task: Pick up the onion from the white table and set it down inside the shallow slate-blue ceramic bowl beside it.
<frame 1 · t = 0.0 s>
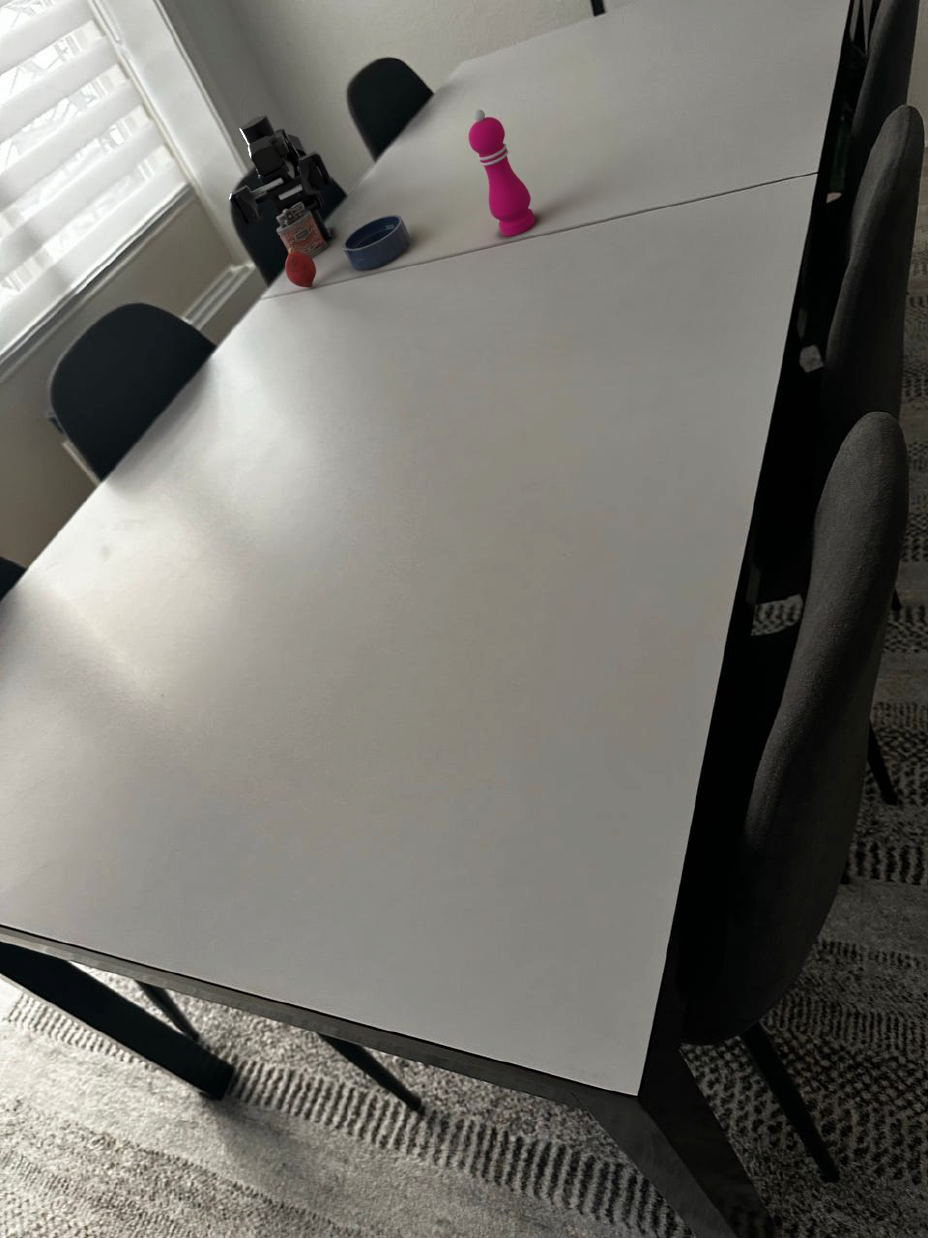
hand: (281, 202, 168), 17 cm above the table, tool horizontal, fingers open, 9 cm apart
bowl: (382, 254, 178), on the table
onion: (310, 287, 181), on the table
lighter: (310, 255, 194), on the table, touching arm
pepper mill: (518, 227, 162), on the table
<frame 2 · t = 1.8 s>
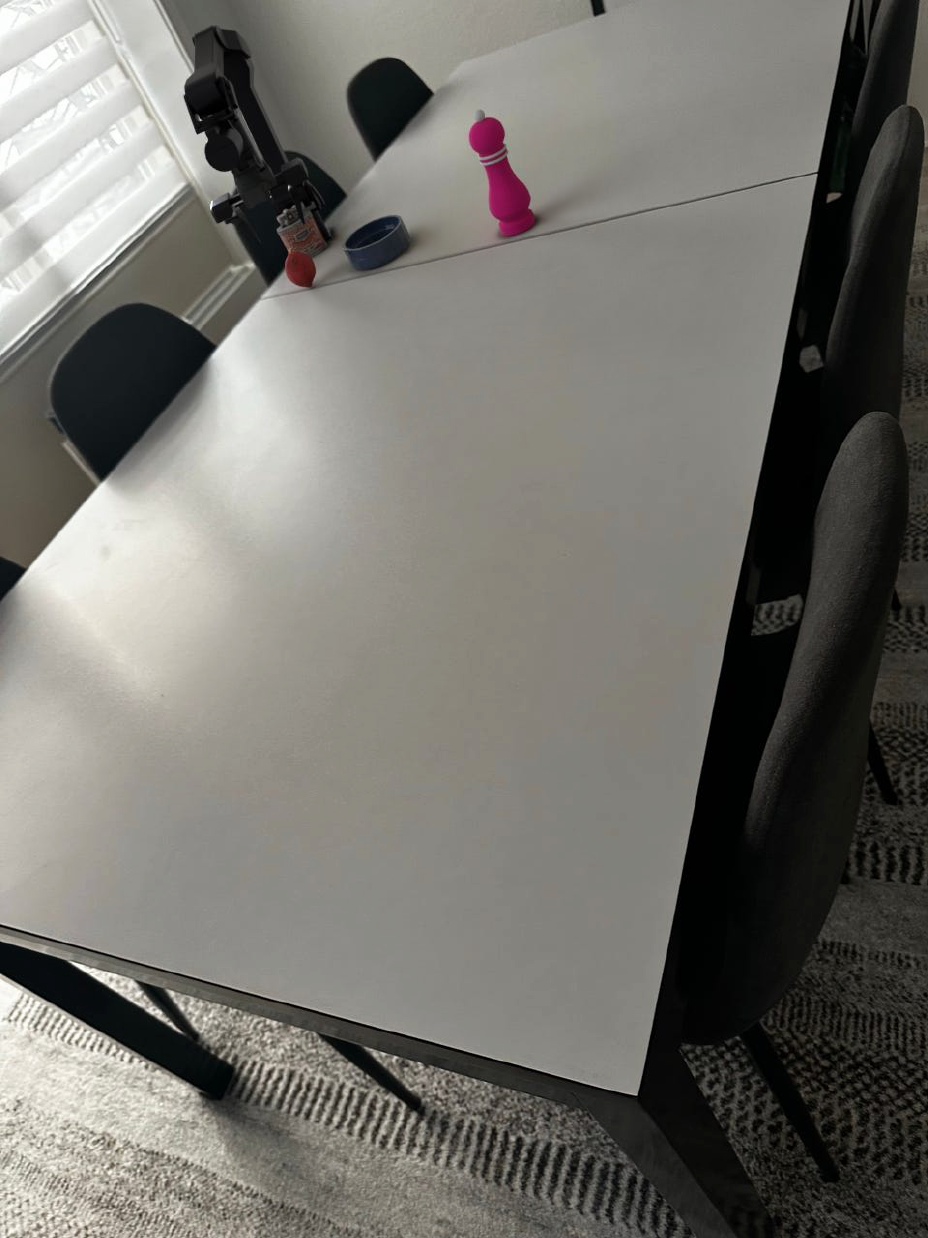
hand: (282, 234, 174), 11 cm above the table, tool pointing down, fingers open, 9 cm apart
nothing on the table moved.
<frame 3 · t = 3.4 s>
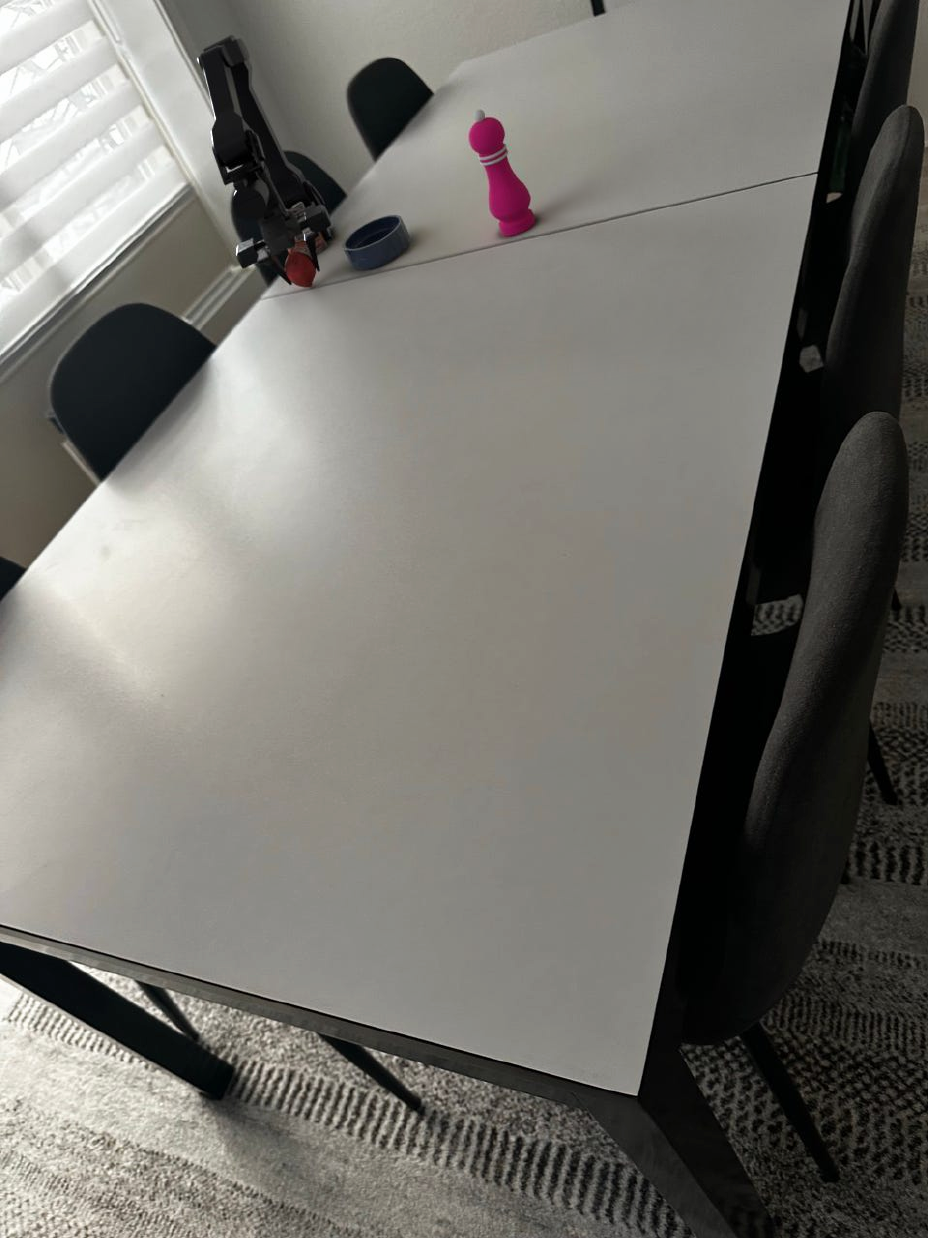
hand: (304, 277, 179), 2 cm above the table, tool pointing down, fingers closed on onion, 6 cm apart
onion: (310, 287, 181), on the table, touching gripper
everything else where it was.
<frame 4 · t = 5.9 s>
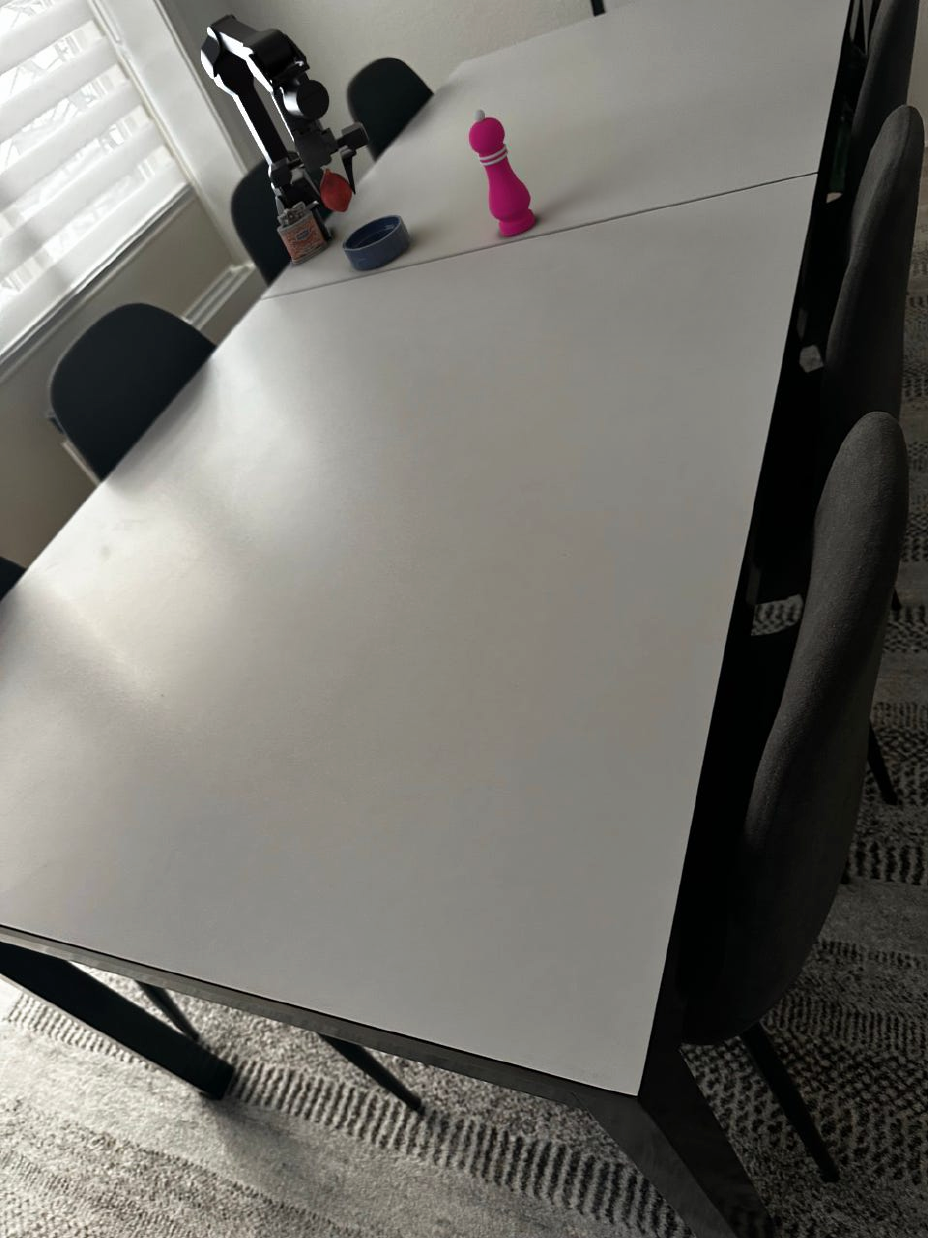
hand: (340, 201, 171), 12 cm above the table, tool pointing down, fingers closed on onion, 6 cm apart
onion: (345, 212, 172), point 10 cm above the table, touching gripper
lighter: (310, 254, 194), on the table
everything else where it was.
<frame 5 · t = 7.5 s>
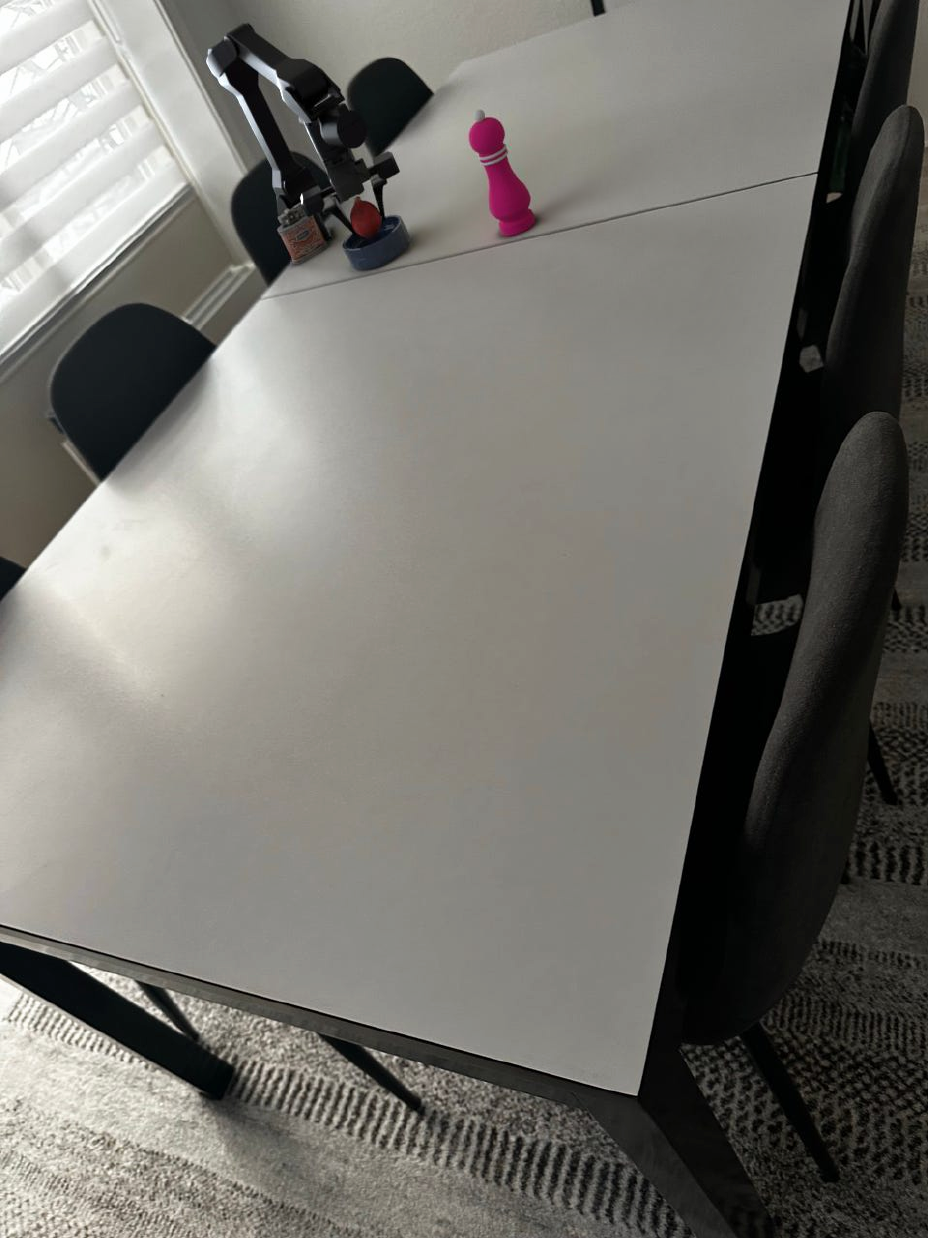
hand: (369, 227, 175), 5 cm above the table, tool pointing down, fingers closed on onion, 6 cm apart
onion: (374, 238, 176), point 3 cm above the table, touching gripper
everything else where it was.
when the fingers open (3 cm above the table, at t = 8.9 s): onion stays where it is, resting on bowl.
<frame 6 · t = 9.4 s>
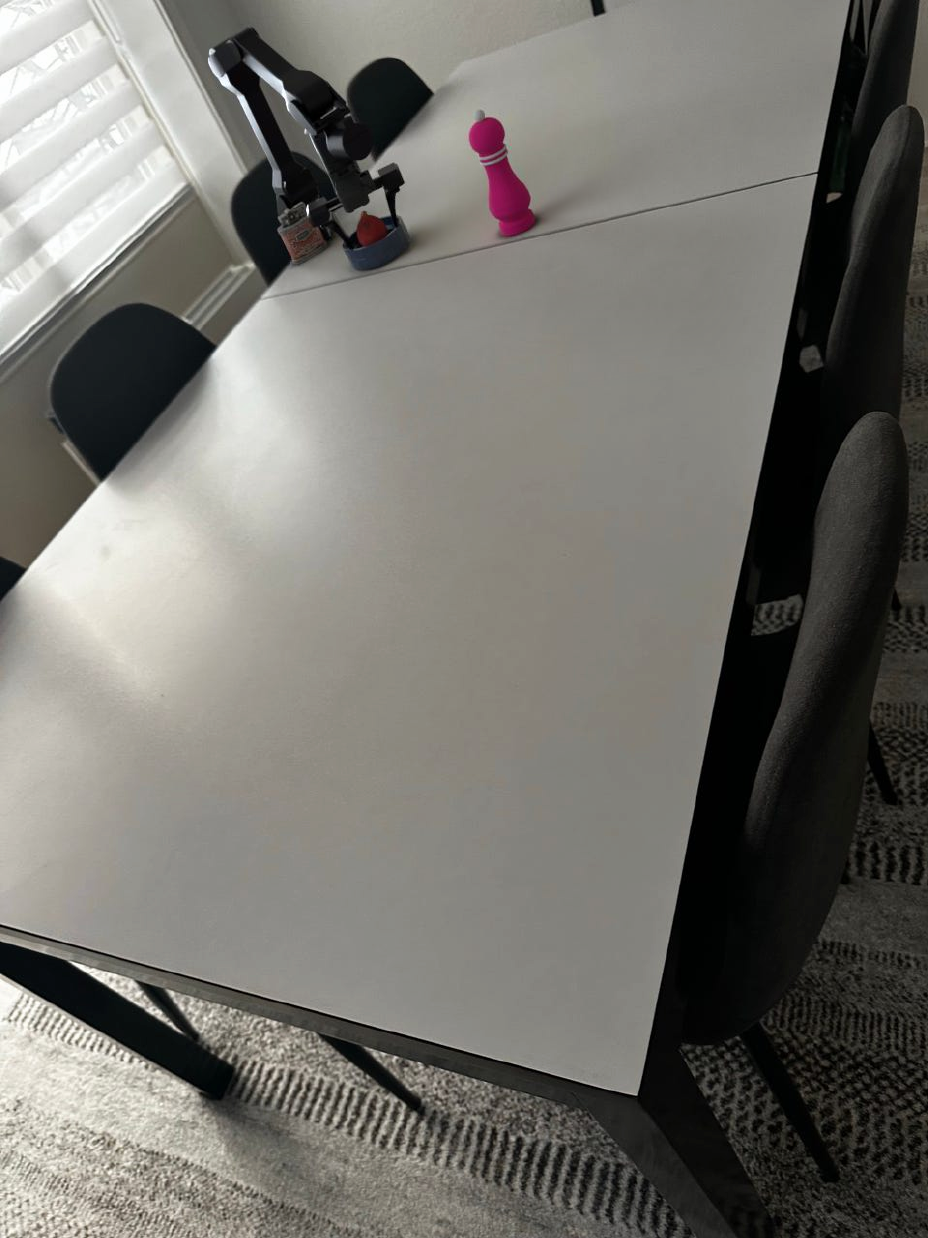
hand: (374, 238, 176), 3 cm above the table, tool pointing down, fingers open, 9 cm apart
onion: (381, 252, 178), resting on bowl
lighter: (310, 254, 193), on the table, touching arm
everything else where it was.
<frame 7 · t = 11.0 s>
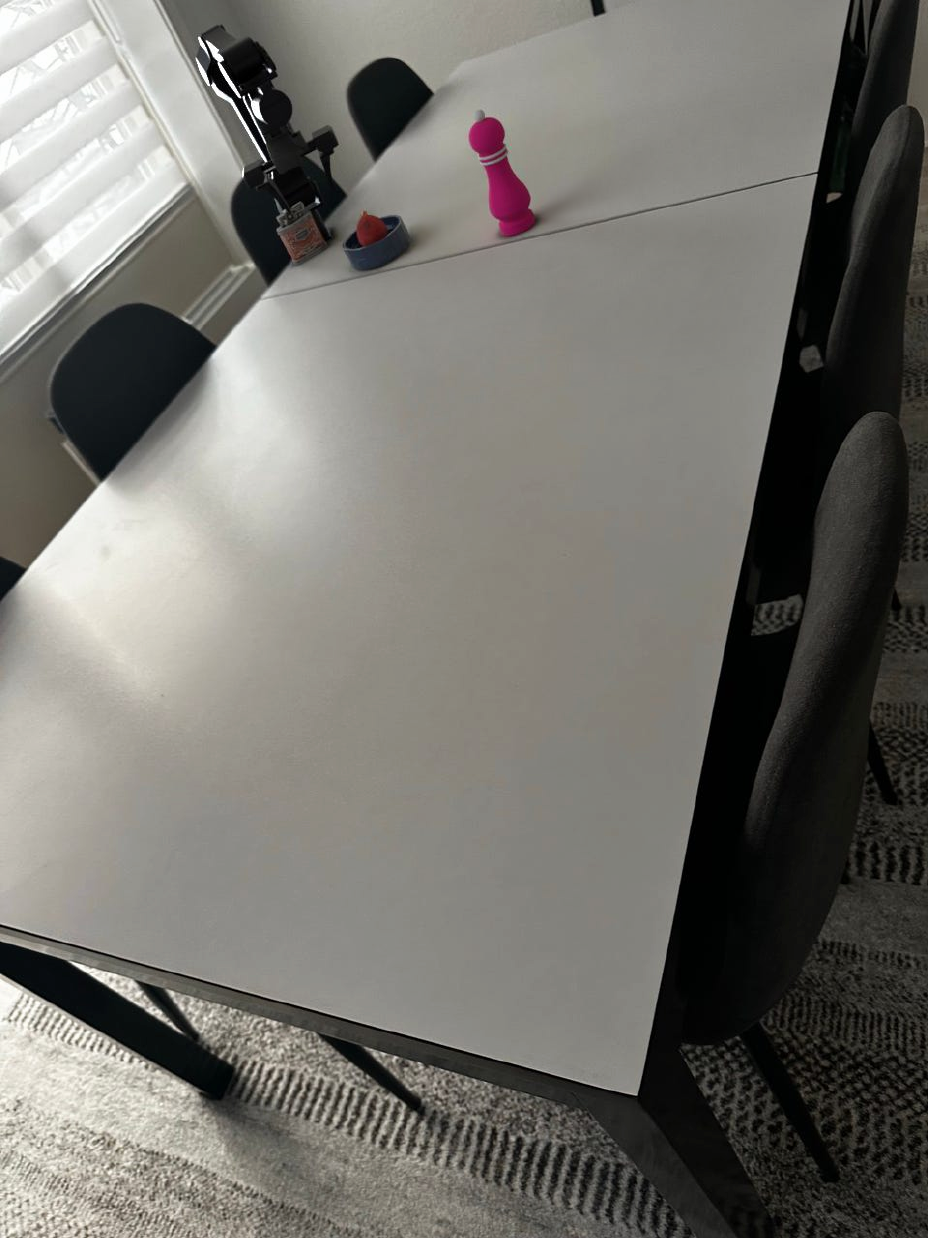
hand: (311, 201, 177), 12 cm above the table, tool pointing down, fingers open, 9 cm apart
nothing on the table moved.
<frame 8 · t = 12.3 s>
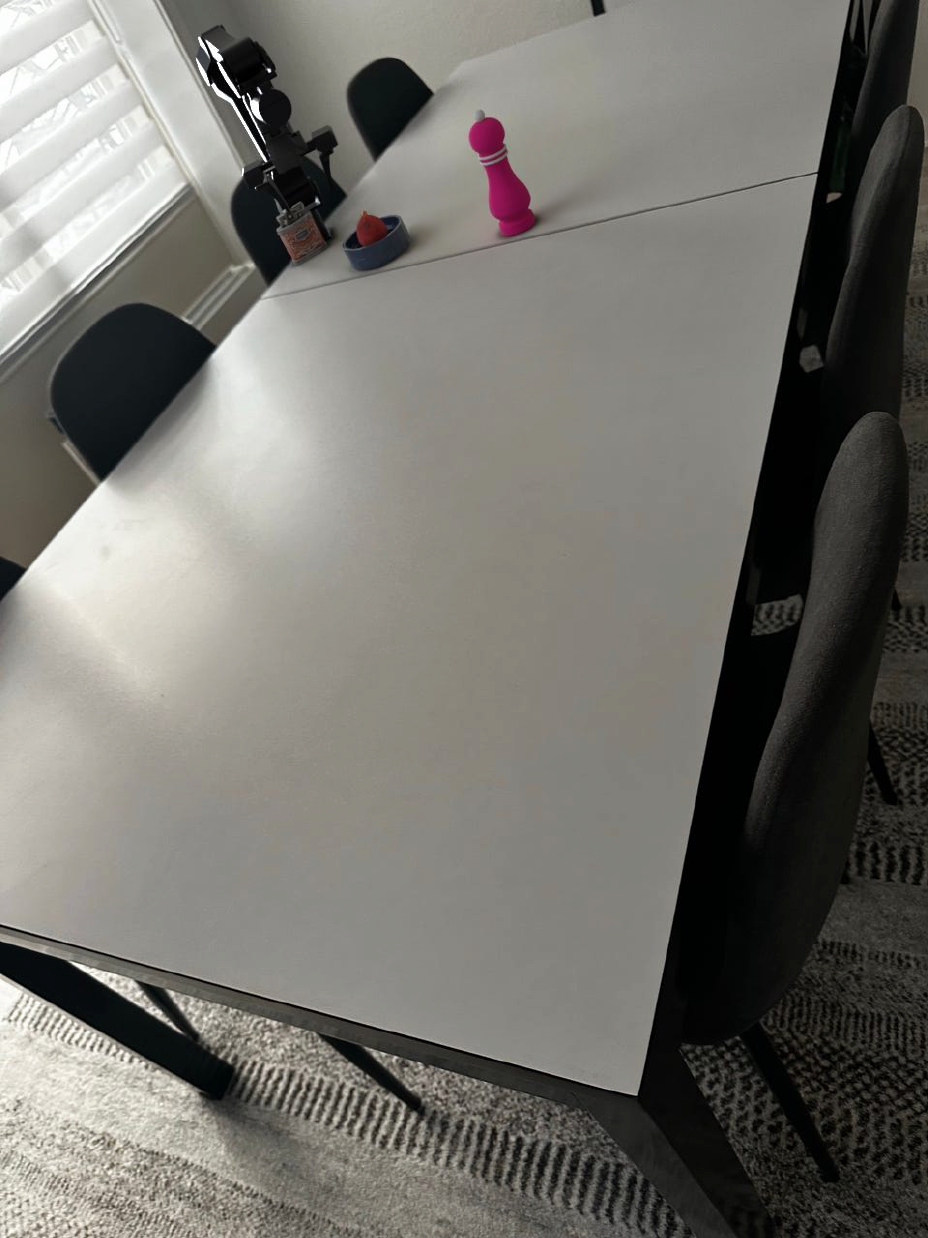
hand: (311, 201, 177), 12 cm above the table, tool pointing down, fingers open, 9 cm apart
nothing on the table moved.
at the end: onion 0.1 cm off-centre in the bowl, point 0.4 cm above the bowl's base; the gripper is holding nothing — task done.
